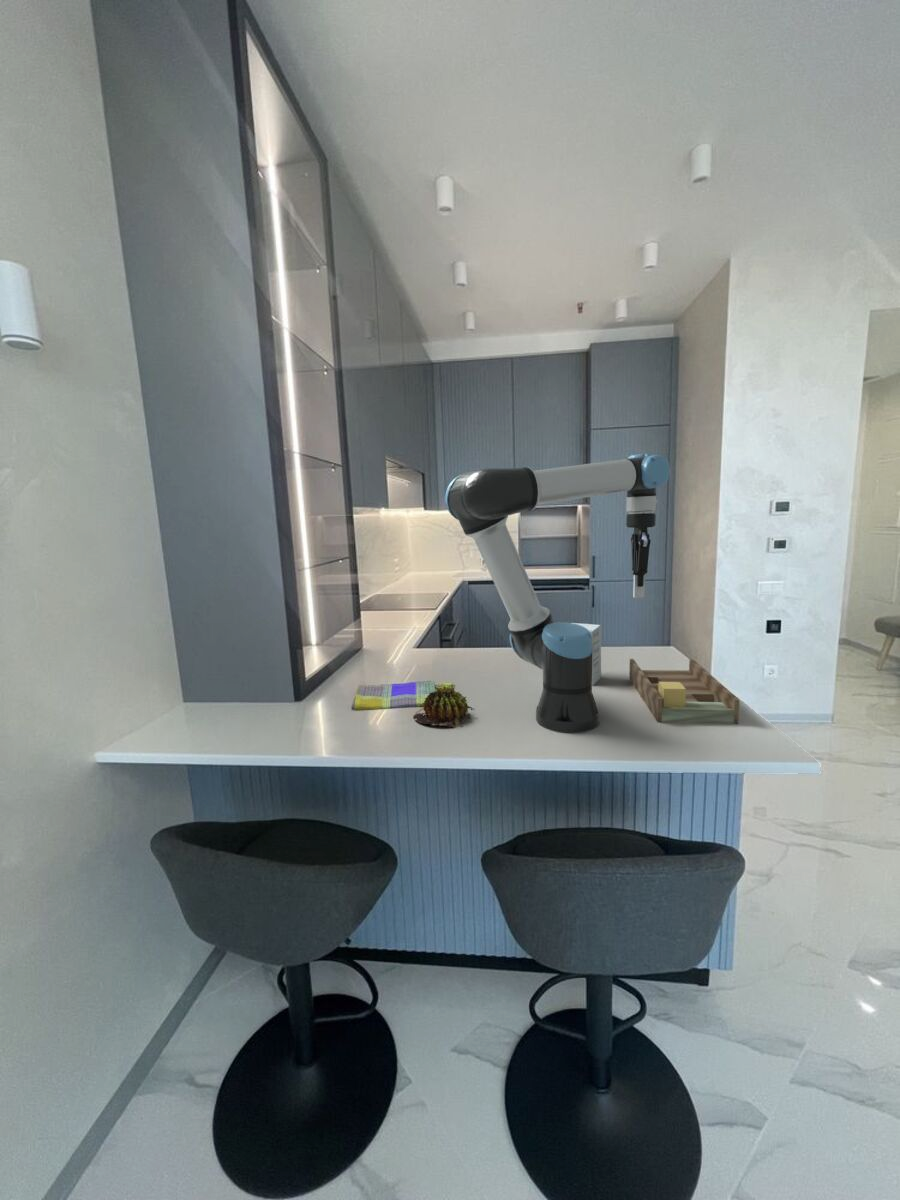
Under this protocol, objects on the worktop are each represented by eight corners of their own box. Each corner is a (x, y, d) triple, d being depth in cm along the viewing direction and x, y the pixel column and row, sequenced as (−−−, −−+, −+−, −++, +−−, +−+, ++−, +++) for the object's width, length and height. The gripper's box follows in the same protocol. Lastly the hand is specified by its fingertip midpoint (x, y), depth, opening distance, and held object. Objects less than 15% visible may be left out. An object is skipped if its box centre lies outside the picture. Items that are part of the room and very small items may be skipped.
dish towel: (438, 709, 136) (437, 699, 136) (348, 713, 136) (347, 703, 135) (438, 687, 153) (437, 678, 153) (358, 691, 153) (357, 682, 152)
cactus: (484, 708, 135) (483, 673, 133) (473, 733, 120) (472, 694, 118) (423, 704, 139) (421, 671, 137) (404, 728, 124) (402, 691, 122)
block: (684, 708, 122) (685, 688, 121) (663, 708, 122) (664, 688, 121) (678, 700, 126) (679, 682, 126) (657, 700, 127) (658, 681, 126)
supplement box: (601, 677, 155) (602, 624, 152) (593, 687, 147) (593, 631, 144) (571, 673, 160) (571, 622, 157) (561, 682, 152) (561, 628, 149)
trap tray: (737, 726, 118) (739, 700, 116) (657, 724, 120) (658, 698, 119) (692, 680, 150) (693, 659, 149) (629, 679, 152) (629, 658, 151)
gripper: (661, 512, 131) (658, 601, 135) (649, 512, 143) (647, 593, 147) (631, 513, 132) (629, 601, 136) (622, 513, 144) (620, 593, 148)
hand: (638, 597), depth 142 cm, fingers closed
